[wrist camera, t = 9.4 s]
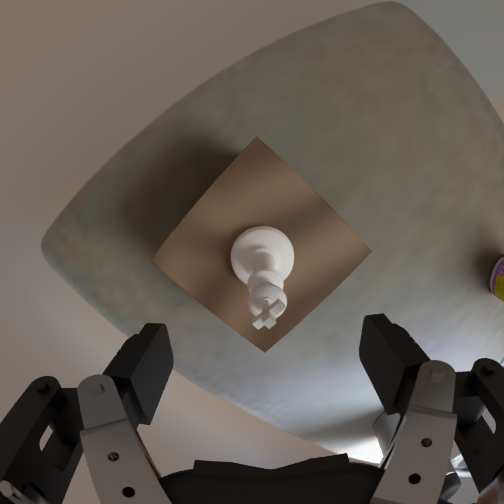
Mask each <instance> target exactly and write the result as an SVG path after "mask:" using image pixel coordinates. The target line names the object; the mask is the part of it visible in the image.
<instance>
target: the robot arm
mask: <svg viewBox="0 0 504 504" xmlns="http://www.w3.org/2000/svg"><path fill="white" fill-rule="evenodd" d="M359 356H360V360H361V363H362V365H363V367H364V369H365V371H366V373H367V375H368V376H369V378H370V380H371V382H372V385H373V387H374V389H375V391H376V393H377V395H378V397H379V399H380V401H381V403H382V405H383V407H384V409H385V412H384V413H383V414H382V415H381V416H380V417H379V418H378V419H377V420H376V422H375V424H374V432H375V434H376V437H377V439H378V442H379V444H380V447H381V450H382V453H383V455H384V456H383V458H382V460H381V462H380V464H379V466H378V467H376V466H373V465H369V464H365V463H356V462H349V459H348V455H347V453H344V454H338V455H332V456H326V457H319V458H311V459H308V460H305V461H302V462H298V463H295V464H291V465H288V466H285V467H281V468H277V469H264V468H258V467H253V466H247V465H242V464H238V463H233V462H217V461H202V460H195V462H194V467H193V469H189V470H184V471H179V472H176V473H172V474H169V475H167V476H164V477H162V476H161V474H160V473H159V471H158V470H157V468H156V466H155V464H154V463H153V461H152V459H151V457H150V455H149V453H148V451H147V449H146V447H145V445H144V444H143V441H142V440H141V437H140V435H139V433H138V432H137V427H138V425H139V424H145V425H150V424H151V421H152V419H153V416H154V414H155V411H156V408H157V406H158V403H159V401H160V398H161V396H162V393H163V391H164V388H165V386H166V383H167V381H168V378H169V376H170V373H171V371H172V368H173V353H172V349H171V344H170V340H169V336H168V331H167V327H166V325H165V324H161V323H146V324H145V326H144V327H143V329H142V330H141V331H140V333H139V334H135V335H133V336H132V337H130V338H129V339H127V340H126V341H125V343H124V344H123V346H122V347H121V349H120V350H119V351H118V352H117V355H115V357H114V358H113V360H112V361H111V362H110V364H109V365H108V367H107V368H106V369H105V371H104V372H103V374H102V375H93V376H90V377H87V378H86V379H84V380H83V381H82V382H81V383H80V384H79V386H78V388H61V386H60V384H59V382H58V380H57V379H56V378H54V377H51V376H43V377H40V378H38V379H36V380H34V381H33V382H32V383H31V384H30V385H29V387H28V388H27V389H26V390H25V392H24V393H23V394H22V395H21V397H20V398H19V399H18V401H17V402H16V403H15V404H14V406H13V407H12V408H11V410H10V411H9V412H8V414H7V415H6V416H5V418H4V419H3V421H2V422H1V424H0V504H62V502H63V499H64V497H65V494H66V492H67V489H68V487H69V484H70V482H71V479H72V477H73V475H74V472H75V470H76V467H77V465H78V463H79V461H80V458H81V456H82V454H83V452H84V454H85V457H86V461H87V465H88V468H89V471H90V474H91V478H92V481H93V483H94V486H95V489H96V492H97V495H98V498H99V500H100V503H101V504H452V503H450V502H447V500H448V499H449V498H451V496H453V495H454V494H455V493H456V491H457V490H458V489H459V487H460V485H461V482H460V479H459V477H458V475H457V473H456V471H455V469H454V467H453V465H452V463H451V461H450V456H451V451H452V446H453V440H455V442H456V444H457V446H458V448H459V450H460V452H461V454H462V456H463V458H464V461H465V463H466V465H467V467H468V469H469V471H470V474H471V476H472V478H473V480H474V482H475V485H476V487H477V489H478V492H479V497H478V501H477V503H473V504H504V368H503V367H502V366H501V365H500V364H499V363H498V362H496V361H495V360H492V359H489V358H481V359H478V360H477V361H475V363H474V365H473V367H472V369H471V371H466V372H455V371H454V369H453V368H452V367H451V366H450V365H449V364H447V363H445V362H443V361H438V360H430V358H429V357H428V356H427V355H426V354H425V352H424V351H423V350H422V349H421V348H420V346H419V345H418V344H417V343H415V340H414V339H413V338H412V337H410V335H409V333H408V332H407V331H406V330H405V329H404V328H402V327H400V326H399V325H397V324H395V323H394V324H392V323H391V322H390V320H389V319H388V318H387V317H386V316H385V315H384V314H383V313H381V314H373V315H366V316H365V318H364V321H363V328H362V334H361V340H360V346H359ZM486 408H487V409H488V411H489V412H490V414H491V415H492V417H493V418H494V420H495V422H496V430H495V433H494V434H493V433H492V431H491V429H490V427H489V426H488V424H487V423H486V421H485V420H484V418H483V416H482V413H483V412H484V410H485V409H486ZM48 425H49V426H50V428H51V429H52V430H53V432H52V434H51V436H50V438H49V439H48V441H47V443H46V445H45V447H44V448H43V450H42V451H41V450H40V446H39V442H40V439H41V437H42V435H43V433H44V432H45V430H46V428H47V427H48Z"/></svg>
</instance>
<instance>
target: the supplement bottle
mask: <svg viewBox="0 0 504 504" xmlns="http://www.w3.org/2000/svg"><path fill="white" fill-rule="evenodd" d="M490 289H491V292H492V294H493V295H495V296H496V297H497V298H499V299H500V300H502V301H503V302H504V257H502V258H501V259H499V260H498V262H497V263H496V264H495V266H494V268H493V270H492V273H491V277H490Z"/></svg>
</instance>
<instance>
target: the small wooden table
mask: <svg viewBox="0 0 504 504" xmlns="http://www.w3.org/2000/svg"><path fill="white" fill-rule="evenodd" d="M257 226H268V227H272V228H275V229H277V230H279V231H281V232H282V233H283V234H285V235H286V236H287V238H288V239H289V240H290V242H291V244H292V247H293V250H294V264H293V268H292V270H291V272H290V274H289V275H288V277H287V278H286V279H285V280H284V281H283V282H284V286H283V292H284V293H285V295H286V298H287V306H286V309H285V310H284V312H283V313H282V314H281V315H280V316H279V317H277V318H276V324H275V325H274V326H272V327H271V328H270V329H268V328H267V327H266V326H265V325H264V326H263V327H261V328H260V329H259V330H258V329H257V328H256V327H255V326H254V325H252V319H253V318H255V316H254V315H253V314H252V313H251V312H250V310H249V308H248V297H249V294H250V293H249V291H248V287H247V285H246V284H245V283H243V282H242V281H241V280H240V279H239V278H238V277H237V276H236V274H235V272H234V270H233V267H232V263H231V250H232V247H233V244H234V242H235V241H236V239H237V238H238V237H239V236H240V235H241V234H242V233H243V232H245V231H246V230H248V229H250V228H253V227H257ZM371 252H372V251H371V250H370V249H369V247H368V246H367V245H366V244H365V243H364V242H363V241H362V240H361V238H360V237H359V236H358V235H357V234H356V233H355V232H354V231H353V230H352V229H351V227H350V226H349V225H348V224H347V223H346V222H345V221H344V220H343V219H342V218H341V217H340V216H339V215H338V214H337V213H336V212H335V210H334V209H333V208H332V207H331V206H330V205H329V204H328V203H327V202H326V201H325V200H324V199H323V198H322V197H321V196H320V195H319V194H318V193H317V192H316V191H315V190H314V189H313V188H312V187H311V186H310V185H309V184H308V183H307V182H306V181H305V180H304V179H303V178H302V177H301V176H299V175H298V174H297V173H296V172H295V171H294V170H293V169H292V168H291V167H290V166H289V165H288V164H287V163H286V162H285V161H284V160H282V159H281V158H280V157H279V156H278V155H277V154H276V153H275V152H274V151H273V150H271V149H270V148H269V147H268V146H267V145H266V144H265V143H264V142H262V141H261V140H260V139H259V138H258V137H257V136H256V137H255V138H254V139H253V141H252V142H251V143H250V144H249V145H248V146H247V147H246V148H245V149H244V150H243V151H242V152H241V153H240V154H239V155H238V156H237V158H236V159H235V160H234V161H233V162H232V163H231V164H230V165H229V166H228V167H227V168H226V170H225V171H224V172H223V173H222V174H221V175H220V176H219V177H218V178H217V180H216V181H215V182H214V183H213V184H212V185H211V186H210V188H209V189H208V190H207V191H206V192H205V193H204V194H203V196H202V197H201V198H200V199H199V200H198V202H197V203H196V204H195V205H194V206H193V207H192V209H191V210H190V211H189V212H188V213H187V215H186V216H185V217H184V218H183V219H182V221H181V222H180V223H179V224H178V226H177V227H176V228H175V229H174V231H173V232H172V233H171V234H170V236H169V237H168V238H167V239H166V241H165V242H164V243H163V244H162V246H161V247H160V248H159V250H158V251H157V252H156V253H155V255H154V256H153V257H152V259H151V260H150V261H151V262H152V263H153V264H155V265H156V266H157V267H158V268H159V269H160V270H161V271H163V272H164V273H165V274H166V275H167V276H168V277H169V278H171V279H172V280H173V281H174V282H175V283H176V284H178V285H179V286H180V287H181V288H182V289H184V290H185V291H186V292H187V293H188V294H190V295H191V296H192V297H193V298H195V299H196V300H197V301H198V302H199V303H201V304H202V305H203V306H204V307H206V308H207V309H208V310H209V311H211V312H212V313H213V314H214V315H216V316H217V317H218V318H220V319H221V320H222V321H223V322H225V323H226V324H227V325H229V326H230V327H231V328H232V329H234V330H235V331H236V332H238V333H239V334H240V335H242V336H243V337H244V338H246V339H247V340H248V341H250V342H251V343H252V344H254V345H255V346H257V347H258V348H259V349H261V350H262V351H263V352H266V351H267V350H268V349H270V348H271V347H272V346H273V345H274V344H276V343H277V342H278V341H279V340H280V339H281V338H283V337H284V336H285V335H286V334H287V333H288V332H289V331H290V330H292V329H293V328H294V327H295V326H296V325H297V324H298V323H299V322H301V321H302V320H303V319H304V318H305V317H306V316H307V315H308V314H309V313H310V312H311V311H313V310H314V309H315V308H316V307H317V306H318V305H319V304H320V303H321V302H322V301H323V300H324V299H325V298H326V297H327V296H328V295H329V294H331V293H332V292H333V291H334V290H335V289H336V288H337V287H338V286H339V285H340V284H341V283H342V282H343V281H344V280H345V279H346V278H347V277H348V276H349V275H350V274H351V273H352V272H353V271H354V270H355V269H356V268H357V267H358V266H359V265H360V263H361V262H362V261H363V260H364V259H365V258H366V257H367V256H368V255H369V254H370V253H371Z"/></svg>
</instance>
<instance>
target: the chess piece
mask: <svg viewBox="0 0 504 504" xmlns="http://www.w3.org/2000/svg"><path fill="white" fill-rule="evenodd" d="M231 263H232V267H233V270H234V272H235V274H236V276H237V277H238V278H239V279H240V280H241V281H242V282H243V283H245V284H246V285H247V287H248V291H249V293H250V294H249V297H248V308H249V310H250V312H251V313H252V314H253V315H254V316H255V318H253V319H252V325H254V326H255V327H256V328H257V329H258V330H259V329H260V328H261V327H263V326H264V325H265V326H266V327H267V328H268V329H270V328H271V327H272V326H274V325H275V324H276V318H277V317H279V316H280V315H281V314H282V313H283V312H284V310H285V309H286V306H287V298H286V295H285V293H284V292H283V286H284V282H283V281H284V280H285V279H286V278H287V277H288V275H289V274H290V272H291V270H292V268H293V264H294V250H293V247H292V244H291V242H290V240H289V239H288V238H287V236H286V235H285V234H283V233H282V232H281V231H279V230H277V229H275V228H272V227H268V226H257V227H253V228H250V229H248V230H246V231H245V232H243V233H242V234H241V235H240V236H239V237H238V238H237V239H236V241H235V242H234V244H233V247H232V250H231Z"/></svg>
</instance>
